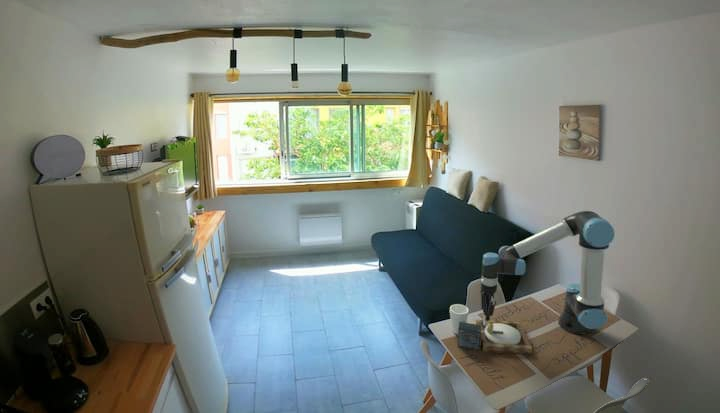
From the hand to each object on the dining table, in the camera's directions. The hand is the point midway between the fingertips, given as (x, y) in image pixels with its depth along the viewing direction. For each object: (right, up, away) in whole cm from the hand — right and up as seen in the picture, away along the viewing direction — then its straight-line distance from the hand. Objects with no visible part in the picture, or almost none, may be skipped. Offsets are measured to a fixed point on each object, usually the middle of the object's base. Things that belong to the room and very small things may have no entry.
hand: (485, 324), depth 191 cm
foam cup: (-13, -5, +4) cm, 15 cm away
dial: (+7, -5, -4) cm, 9 cm away
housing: (+7, -6, -4) cm, 10 cm away
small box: (-11, -8, -7) cm, 15 cm away
